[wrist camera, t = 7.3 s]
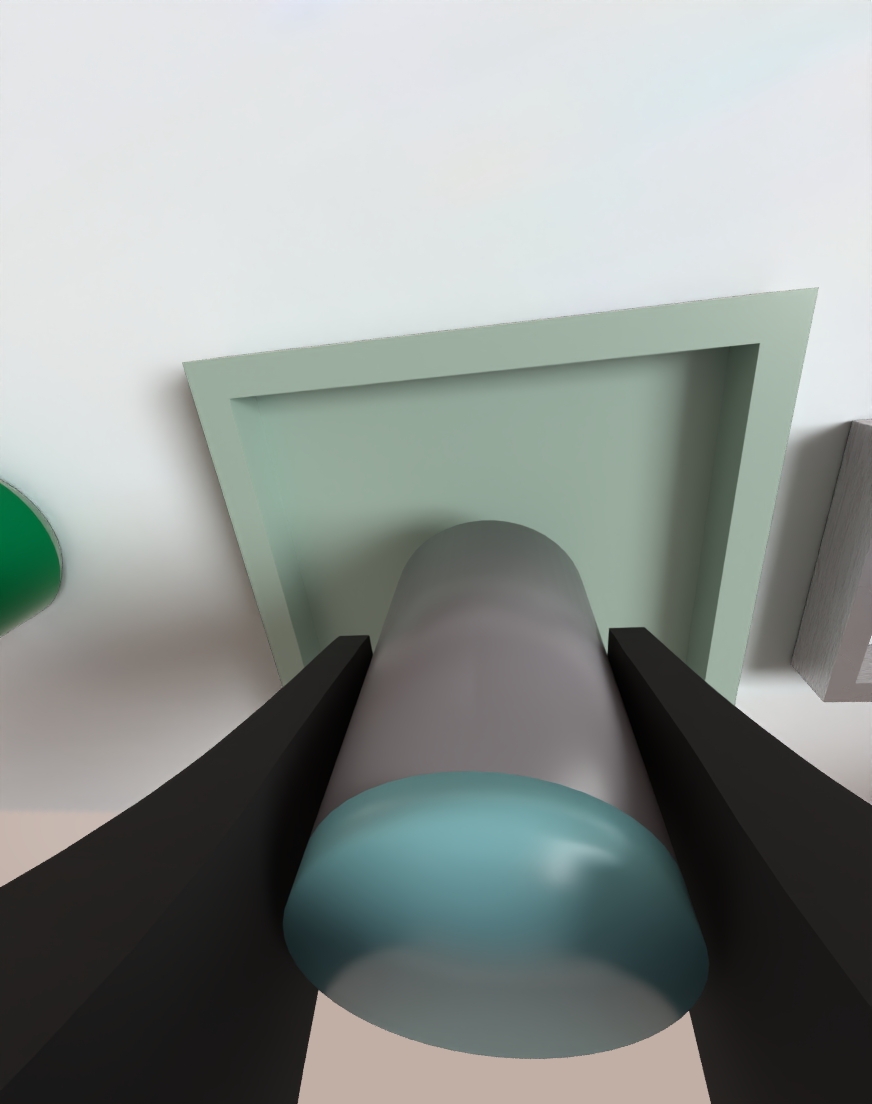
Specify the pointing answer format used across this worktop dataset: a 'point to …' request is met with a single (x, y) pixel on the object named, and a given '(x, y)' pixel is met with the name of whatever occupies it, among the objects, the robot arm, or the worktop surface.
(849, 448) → the collar
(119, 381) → the worktop surface
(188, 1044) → the robot arm
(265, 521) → the tray
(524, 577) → the cylinder
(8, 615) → the soda can
